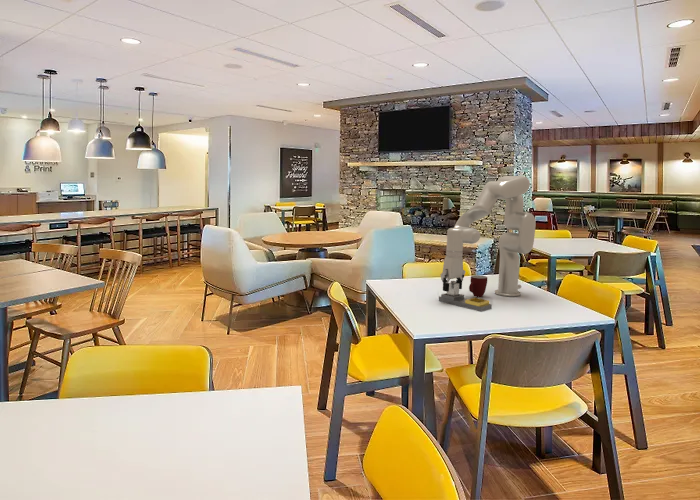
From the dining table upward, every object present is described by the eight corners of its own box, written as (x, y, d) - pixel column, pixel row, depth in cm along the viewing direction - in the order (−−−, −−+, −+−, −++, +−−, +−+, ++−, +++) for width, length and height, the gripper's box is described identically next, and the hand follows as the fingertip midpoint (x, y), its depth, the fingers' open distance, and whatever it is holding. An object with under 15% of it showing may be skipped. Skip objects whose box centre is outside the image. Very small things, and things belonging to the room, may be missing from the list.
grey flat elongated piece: (449, 298, 242) (449, 291, 241) (491, 308, 224) (491, 301, 223) (438, 301, 237) (439, 293, 236) (481, 311, 219) (481, 303, 218)
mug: (477, 300, 240) (478, 279, 238) (463, 296, 246) (464, 277, 244) (489, 296, 247) (490, 277, 246) (475, 293, 253) (476, 274, 251)
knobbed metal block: (451, 296, 238) (452, 280, 237) (458, 297, 235) (459, 281, 234) (446, 297, 235) (447, 281, 234) (453, 299, 232) (454, 282, 231)
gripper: (459, 252, 241) (457, 286, 243) (436, 254, 229) (434, 290, 232) (472, 253, 235) (469, 289, 237) (448, 256, 224) (446, 293, 226)
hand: (452, 289), depth 234 cm, fingers open, 9 cm apart
